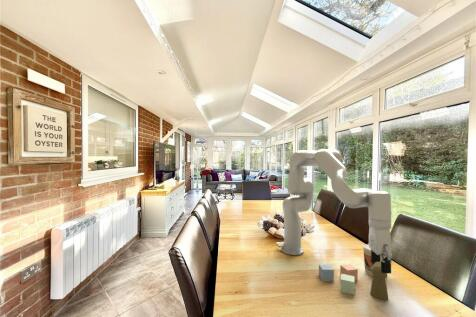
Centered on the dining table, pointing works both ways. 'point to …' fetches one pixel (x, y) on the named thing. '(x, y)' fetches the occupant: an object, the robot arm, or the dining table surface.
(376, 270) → the cork
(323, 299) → the dining table surface
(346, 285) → the sage cube
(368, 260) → the coffee cup
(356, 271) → the terracotta cube
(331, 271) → the slate cube
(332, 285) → the dining table surface
